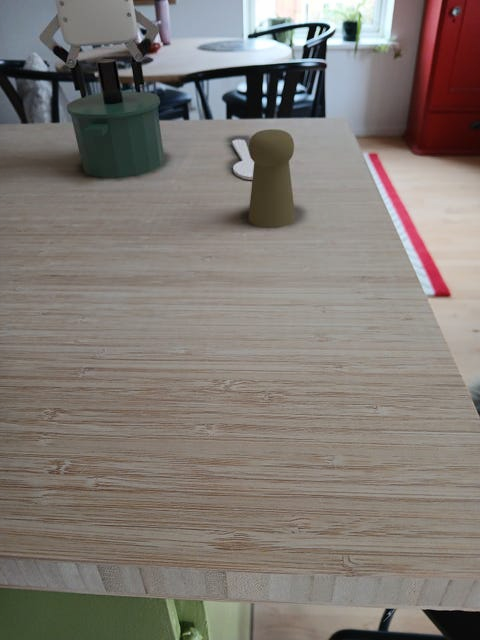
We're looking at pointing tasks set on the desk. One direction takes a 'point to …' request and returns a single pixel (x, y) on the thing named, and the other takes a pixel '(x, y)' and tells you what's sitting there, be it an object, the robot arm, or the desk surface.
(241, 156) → the spoon
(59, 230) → the desk surface
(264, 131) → the pepper mill
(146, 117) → the cooker pot
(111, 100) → the pot lid
